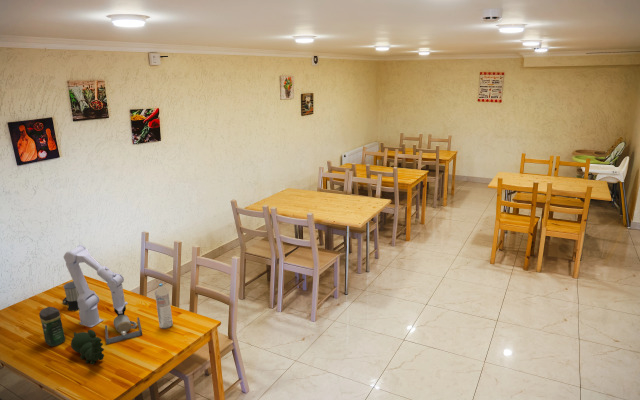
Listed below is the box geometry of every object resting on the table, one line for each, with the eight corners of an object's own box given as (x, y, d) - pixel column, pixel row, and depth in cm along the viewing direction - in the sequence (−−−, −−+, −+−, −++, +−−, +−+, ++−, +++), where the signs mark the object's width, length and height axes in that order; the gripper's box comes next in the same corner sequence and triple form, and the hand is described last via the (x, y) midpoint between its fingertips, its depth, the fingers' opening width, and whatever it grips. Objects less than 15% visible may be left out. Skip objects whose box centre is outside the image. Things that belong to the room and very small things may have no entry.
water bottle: (175, 323, 237) (170, 282, 230) (166, 330, 231) (160, 288, 224) (166, 321, 240) (160, 280, 233) (156, 327, 234) (150, 285, 227)
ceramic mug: (118, 336, 226) (116, 323, 224) (114, 329, 233) (112, 316, 230) (139, 329, 233) (137, 317, 230) (134, 322, 239) (133, 310, 237)
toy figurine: (111, 364, 208) (85, 341, 222) (107, 330, 201) (80, 310, 215) (91, 374, 201) (66, 351, 214) (86, 340, 194) (60, 318, 208)
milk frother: (80, 311, 251) (75, 288, 247) (53, 311, 252) (48, 288, 248) (93, 299, 265) (88, 276, 261) (67, 299, 266) (63, 277, 261)
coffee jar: (68, 341, 223) (61, 309, 218) (51, 348, 217) (44, 316, 212) (59, 334, 229) (52, 303, 224) (43, 342, 223) (35, 310, 218)
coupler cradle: (105, 329, 233) (104, 322, 232) (139, 321, 240) (138, 314, 239) (106, 345, 219) (105, 337, 218) (142, 335, 227) (141, 328, 226)
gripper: (127, 301, 227) (130, 323, 231) (125, 289, 239) (128, 311, 243) (112, 304, 224) (116, 327, 228) (111, 292, 236) (114, 314, 240)
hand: (121, 319), depth 235 cm, fingers closed
